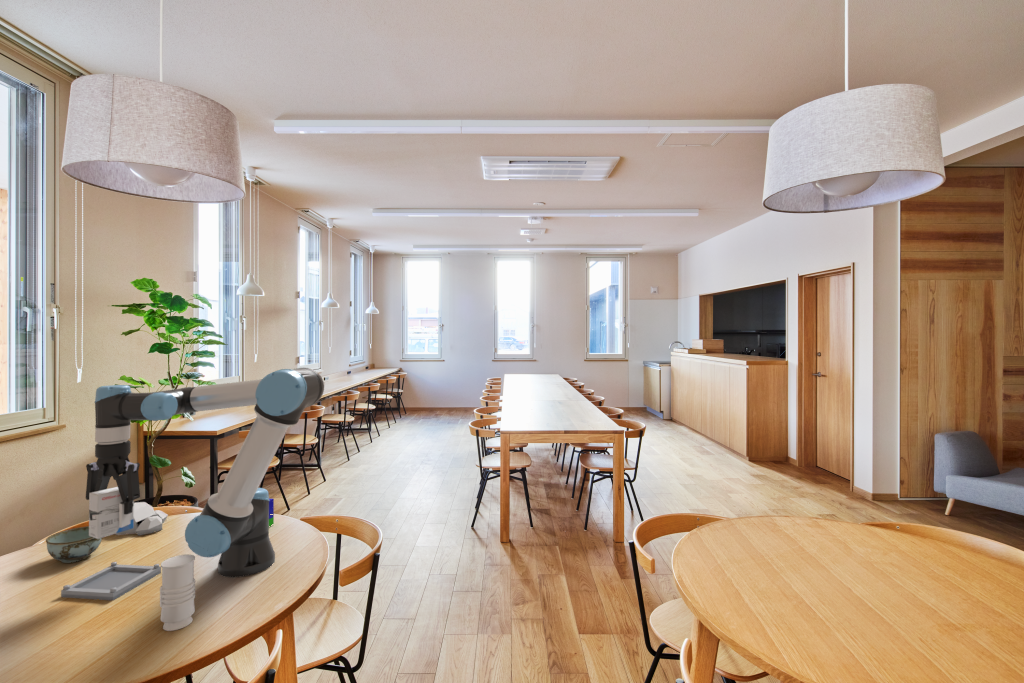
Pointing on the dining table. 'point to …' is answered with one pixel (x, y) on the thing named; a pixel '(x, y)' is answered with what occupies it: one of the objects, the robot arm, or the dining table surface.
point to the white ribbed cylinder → (177, 592)
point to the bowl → (72, 545)
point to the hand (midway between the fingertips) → (112, 525)
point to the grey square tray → (111, 582)
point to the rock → (146, 520)
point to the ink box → (106, 513)
